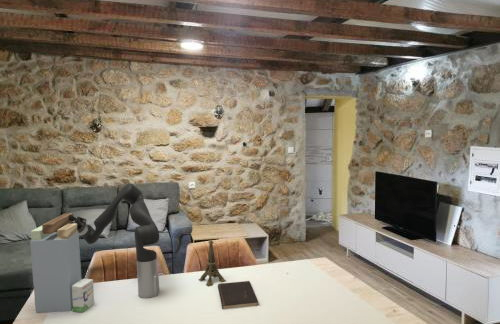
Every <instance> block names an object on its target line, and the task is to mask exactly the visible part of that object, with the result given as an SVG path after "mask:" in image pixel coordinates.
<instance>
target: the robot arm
mask: <svg viewBox="0 0 500 324" xmlns="http://www.w3.org/2000/svg"><path fill="white" fill-rule="evenodd" d="M123 200H124V201H126V202H127V203H128V204H130V205H131V206H130V208H129V216H130V219H131V220H132V222H133V223H134V224H136V225H138V226H136V227H134V242H135V253H136V254H135V255H136V272H137V293H138V294H137V295H138V297H140V298H143V299H144V298H145V299H147V298H152V297H157V296H158V294H159V292H160V277H159V271H158V259H157V258H158V257H157V252H156V251H155V250H153V249H147V248H146V247H144V246H150V245H154V244H157V243H159V241H160V231H159V229H158V227H157V224H156V223H155V221H154V220H153V218H152V216H151V214H150V211H149V209H148V206H147V204H146V202H145V200H144V195H143V192H142V191H141V190H140V189H139V188H138V187H137V186H135V185H134V184H132V183H126V184H125V185H124V186H123V187H122V188H121V189H120V190H119V192H118V193H117V194H116V196H115V197H114V198H113V199H112V200H111V202H110V203H109V204H108V205H107V207H106V208H105V209H104V210H103V211H102V213H101V214H99V216H98V217H97V218H95V220H94V221H93V225H94V227H95V229H94V228H93V227H92V226H91V224H88V223H87V219H86V218H84V217H82V216H74V215H73V216H72V215H69V220H71V221H72V222H71V223H70V224H75V223H77V231H78V233H79V238H80V237H81V238H83V239H84V241H85V242H86V243H87V244H88V245H92V244H95V243H96V242H97V241H98V240H99V239H100V237H101V235H102V233H103V232H104V230H105V229H106V228H107V227H108V226H109V225H110V224H111V223H112V221H113V220H114V219H115V217H116V214H117V211H118V207H119V204H120V203H121V202H122V201H123ZM61 215H62V214H59V215H58V216H57V217H59V216H61Z"/></svg>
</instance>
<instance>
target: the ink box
mask: <svg viewBox="0 0 500 324" xmlns="http://www.w3.org/2000/svg"><path fill="white" fill-rule="evenodd" d="M94 291H95V290H94V279H91V278H82V280H80V281H79V282H77V283H76V284H74V285H73V286H72V299H73V310H72V312H74V313H84V312H85V311H87V310H88V309H89V308H91V306H94V304H95V292H94Z"/></svg>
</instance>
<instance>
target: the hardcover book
mask: <svg viewBox="0 0 500 324" xmlns="http://www.w3.org/2000/svg"><path fill="white" fill-rule="evenodd" d="M217 289H218V295H219V300H220V304H221V309H222V310H226V309H236V308H245V307H253V306H255V307H256V306H258V303H259V300H258V297H257V295H256V293H255V291H254V288H253V286H252V284H251V281H250V280H246V281H245V280H244V281H234V282H233V281H232V282H220V283H218V284H217Z"/></svg>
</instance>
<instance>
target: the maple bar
mask: <svg viewBox="0 0 500 324" xmlns="http://www.w3.org/2000/svg"><path fill="white" fill-rule="evenodd" d="M56 232H57V235H58V239H68V238H69V237H71V236H72V235H74V234H75V233H77V223H75V224H67V225H65V226H63V227H62V228H60V229H58V230H57V231H56Z"/></svg>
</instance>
